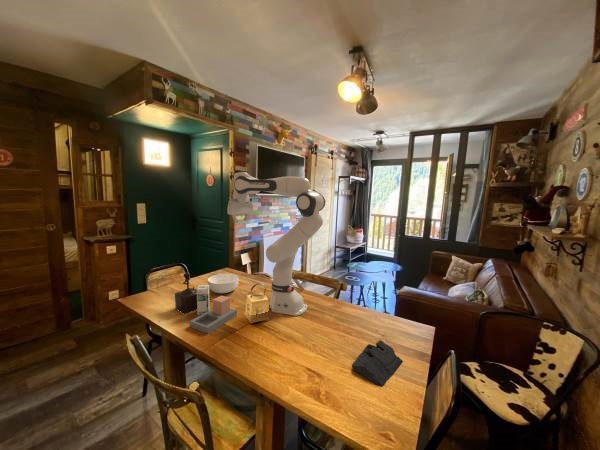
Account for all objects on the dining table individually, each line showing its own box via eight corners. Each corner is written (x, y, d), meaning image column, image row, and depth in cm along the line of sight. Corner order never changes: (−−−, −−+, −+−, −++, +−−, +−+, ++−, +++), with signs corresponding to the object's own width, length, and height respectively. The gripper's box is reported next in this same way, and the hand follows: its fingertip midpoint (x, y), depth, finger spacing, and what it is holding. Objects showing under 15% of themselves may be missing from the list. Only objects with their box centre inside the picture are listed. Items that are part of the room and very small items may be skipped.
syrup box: (197, 315, 130) (196, 289, 128) (198, 310, 136) (198, 285, 134) (208, 314, 131) (208, 288, 130) (209, 309, 137) (209, 284, 135)
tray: (219, 310, 136) (219, 293, 135) (236, 315, 131) (236, 297, 130) (189, 327, 118) (189, 307, 117) (208, 333, 113) (207, 313, 112)
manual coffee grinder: (203, 307, 139) (202, 277, 137) (184, 314, 130) (183, 282, 128) (189, 299, 148) (188, 271, 146) (170, 305, 139) (169, 275, 137)
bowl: (244, 289, 167) (244, 277, 166) (221, 299, 150) (221, 286, 149) (224, 283, 177) (224, 271, 176) (201, 291, 161) (201, 279, 160)
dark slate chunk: (344, 369, 94) (345, 357, 94) (370, 344, 110) (371, 334, 110) (382, 391, 84) (383, 378, 83) (405, 360, 100) (406, 349, 100)
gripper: (233, 199, 139) (233, 223, 141) (254, 199, 158) (254, 220, 159) (224, 198, 142) (224, 222, 144) (246, 198, 160) (246, 219, 162)
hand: (240, 221), depth 152 cm, fingers open, 8 cm apart
